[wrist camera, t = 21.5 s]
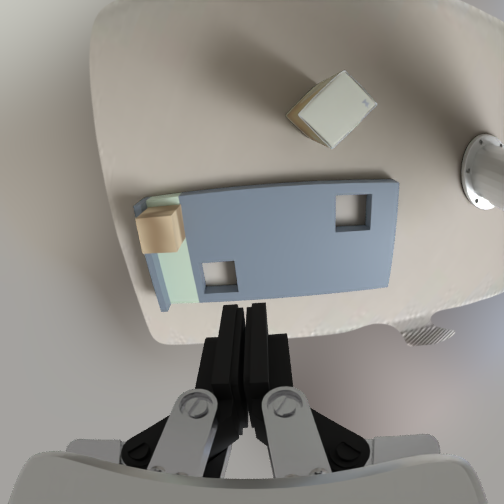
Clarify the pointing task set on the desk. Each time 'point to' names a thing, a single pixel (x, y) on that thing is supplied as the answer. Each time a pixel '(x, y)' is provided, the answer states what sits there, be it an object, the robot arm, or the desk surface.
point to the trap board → (276, 241)
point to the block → (161, 229)
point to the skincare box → (332, 109)
